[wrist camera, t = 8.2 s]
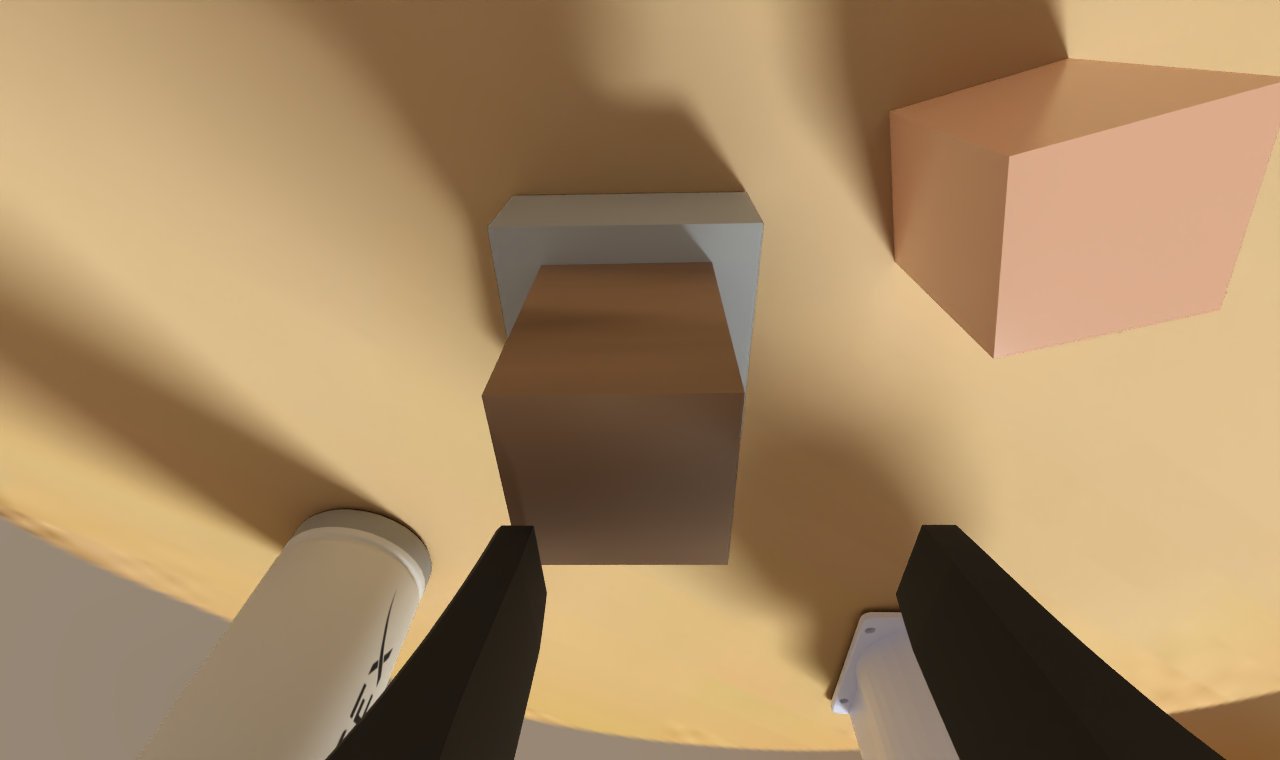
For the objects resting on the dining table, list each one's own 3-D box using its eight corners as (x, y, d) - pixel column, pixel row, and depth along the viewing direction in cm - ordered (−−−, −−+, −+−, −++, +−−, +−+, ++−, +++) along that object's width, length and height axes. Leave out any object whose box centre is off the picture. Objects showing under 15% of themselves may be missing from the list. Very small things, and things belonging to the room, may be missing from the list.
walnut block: (704, 401, 17) (727, 564, 12) (559, 402, 17) (520, 564, 12) (711, 262, 14) (744, 392, 9) (541, 264, 14) (481, 395, 9)
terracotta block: (1047, 222, 16) (1220, 309, 12) (894, 261, 17) (993, 358, 12) (1067, 58, 14) (1295, 77, 9) (889, 111, 15) (1008, 156, 10)
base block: (729, 386, 20) (740, 438, 17) (540, 387, 20) (525, 439, 18) (746, 191, 16) (763, 223, 14) (512, 195, 16) (487, 227, 14)
